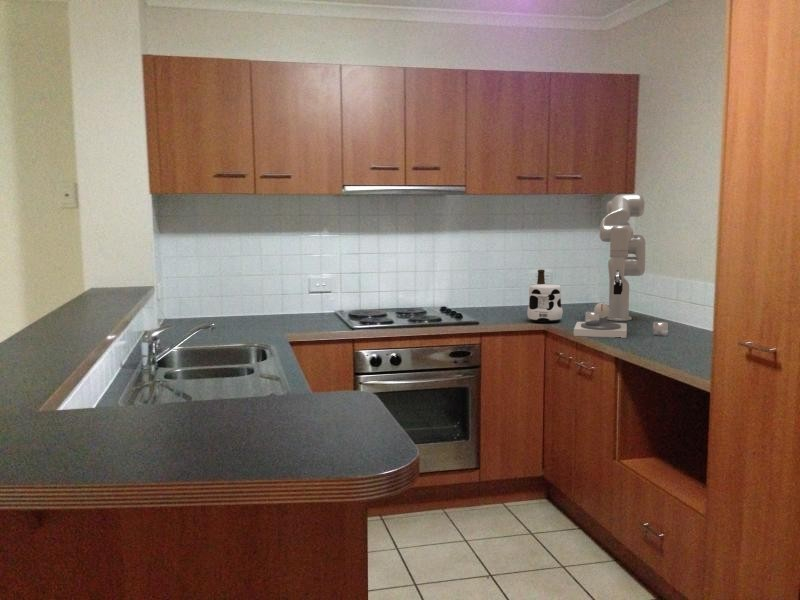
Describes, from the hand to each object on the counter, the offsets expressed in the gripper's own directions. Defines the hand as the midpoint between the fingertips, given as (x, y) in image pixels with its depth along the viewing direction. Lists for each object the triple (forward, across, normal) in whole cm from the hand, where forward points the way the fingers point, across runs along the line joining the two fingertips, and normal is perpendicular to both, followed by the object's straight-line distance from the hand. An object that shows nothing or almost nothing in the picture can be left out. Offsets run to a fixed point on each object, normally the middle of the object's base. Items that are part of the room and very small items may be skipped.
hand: (618, 293), depth 300 cm
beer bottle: (+18, -53, -42) cm, 70 cm away
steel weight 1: (+14, +1, -11) cm, 18 cm away
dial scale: (+18, -1, -7) cm, 20 cm away
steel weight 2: (+18, -2, +18) cm, 26 cm away
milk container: (+18, -28, -36) cm, 49 cm away
